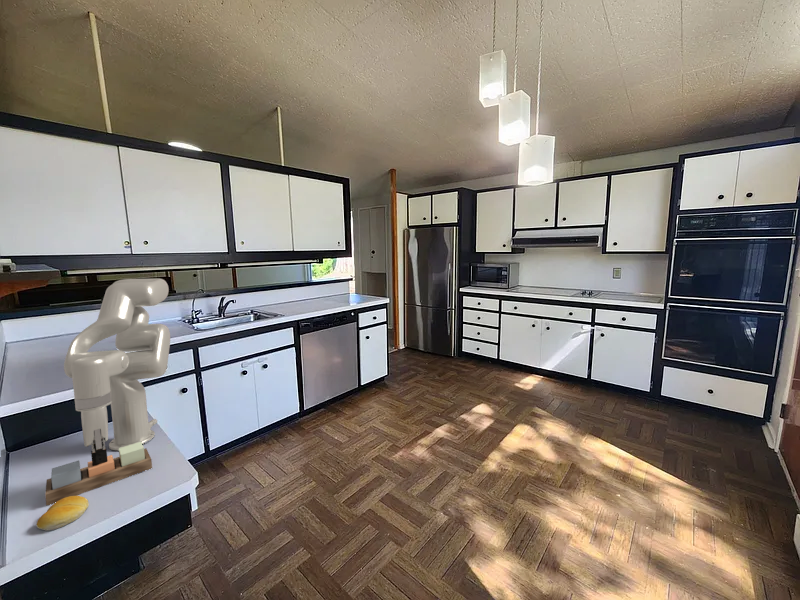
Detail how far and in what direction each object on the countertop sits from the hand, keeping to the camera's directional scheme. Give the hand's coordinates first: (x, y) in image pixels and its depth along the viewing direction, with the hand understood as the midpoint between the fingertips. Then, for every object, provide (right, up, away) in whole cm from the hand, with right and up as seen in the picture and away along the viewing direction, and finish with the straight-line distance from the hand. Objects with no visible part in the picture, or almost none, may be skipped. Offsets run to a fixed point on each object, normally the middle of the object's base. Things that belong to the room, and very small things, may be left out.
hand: (100, 463), depth 95 cm
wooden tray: (0, -5, +1) cm, 5 cm away
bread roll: (+4, -7, -14) cm, 16 cm away
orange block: (0, -4, +1) cm, 4 cm away
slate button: (-5, -3, -4) cm, 7 cm away
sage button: (+5, -2, +6) cm, 8 cm away
